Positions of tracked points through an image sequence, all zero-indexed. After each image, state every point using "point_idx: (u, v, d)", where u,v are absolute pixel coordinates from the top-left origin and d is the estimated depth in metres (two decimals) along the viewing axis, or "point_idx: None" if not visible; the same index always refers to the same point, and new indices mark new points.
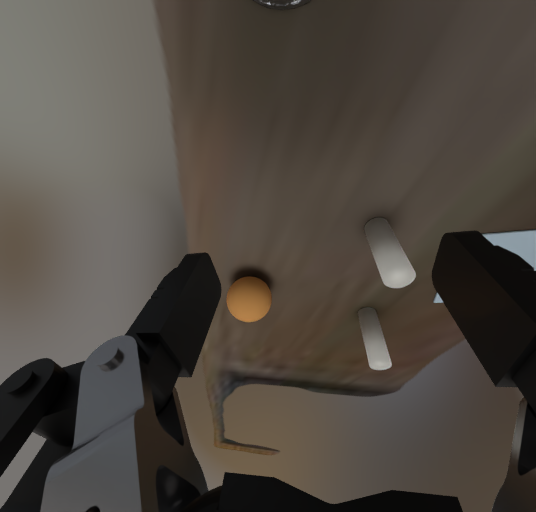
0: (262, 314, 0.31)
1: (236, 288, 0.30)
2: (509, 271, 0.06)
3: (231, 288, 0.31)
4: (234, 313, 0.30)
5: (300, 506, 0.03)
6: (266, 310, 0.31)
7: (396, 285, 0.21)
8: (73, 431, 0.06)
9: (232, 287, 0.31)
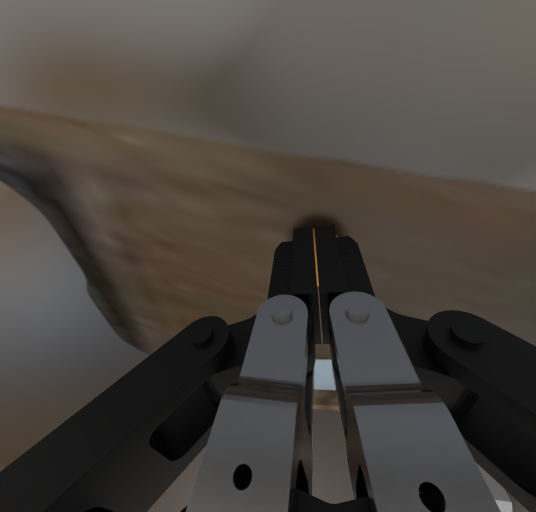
0: None
1: None
2: (331, 254, 0.07)
3: None
4: None
5: (300, 506, 0.03)
6: None
7: None
8: None
9: None
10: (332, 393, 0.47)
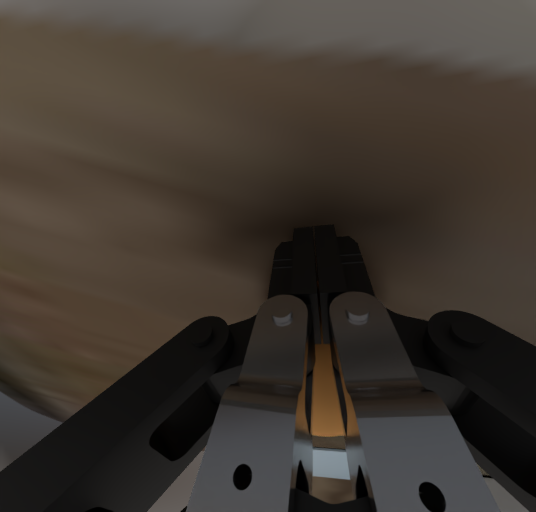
0: None
1: None
2: (331, 254, 0.07)
3: None
4: (325, 420, 0.08)
5: (300, 505, 0.03)
6: None
7: None
8: None
9: None
10: (348, 486, 0.31)
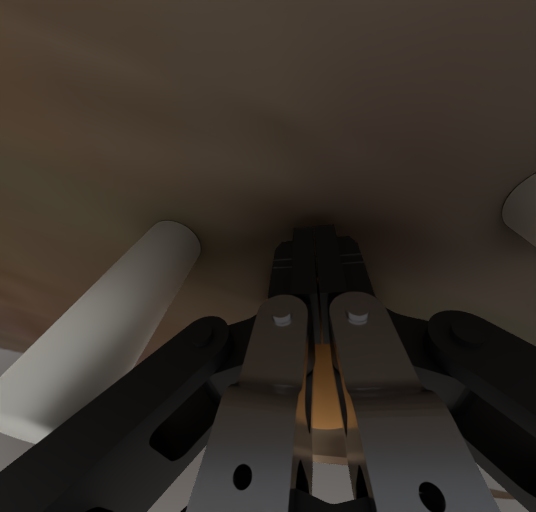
0: None
1: None
2: (331, 254, 0.07)
3: None
4: None
5: (300, 505, 0.03)
6: None
7: None
8: None
9: None
10: None
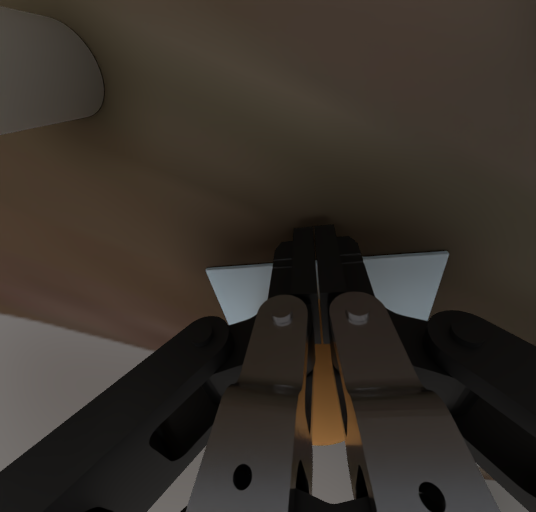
0: None
1: None
2: (331, 254, 0.07)
3: None
4: None
5: (299, 505, 0.03)
6: None
7: None
8: None
9: None
10: None
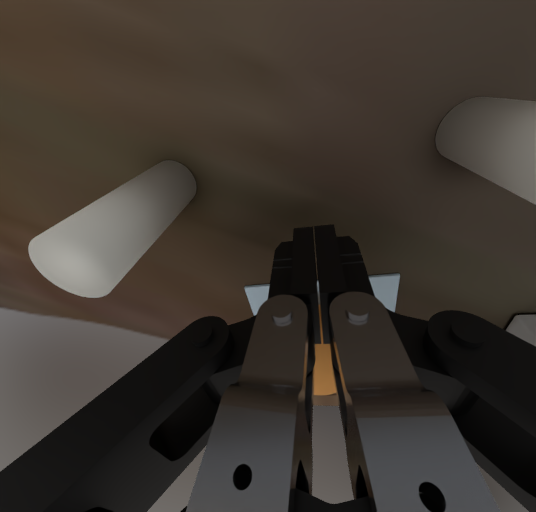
0: None
1: None
2: (331, 254, 0.07)
3: None
4: None
5: (299, 505, 0.03)
6: None
7: None
8: None
9: None
10: None
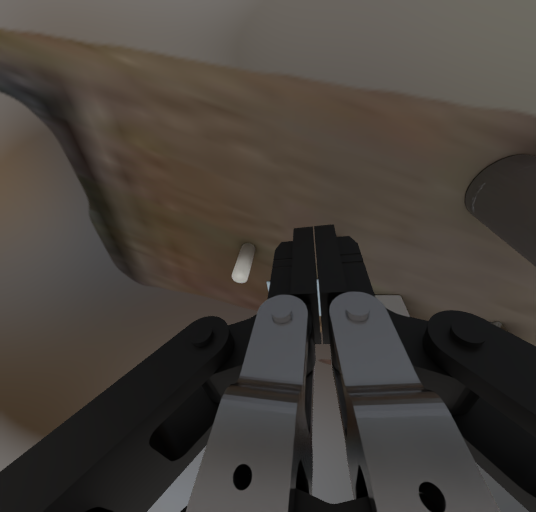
0: None
1: None
2: (331, 254, 0.07)
3: None
4: None
5: (300, 506, 0.03)
6: None
7: None
8: None
9: None
10: None
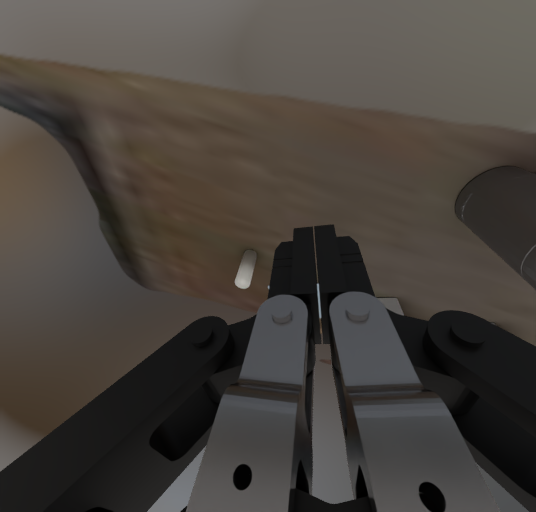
0: None
1: None
2: (331, 254, 0.07)
3: None
4: None
5: (300, 505, 0.03)
6: None
7: None
8: None
9: None
10: None
